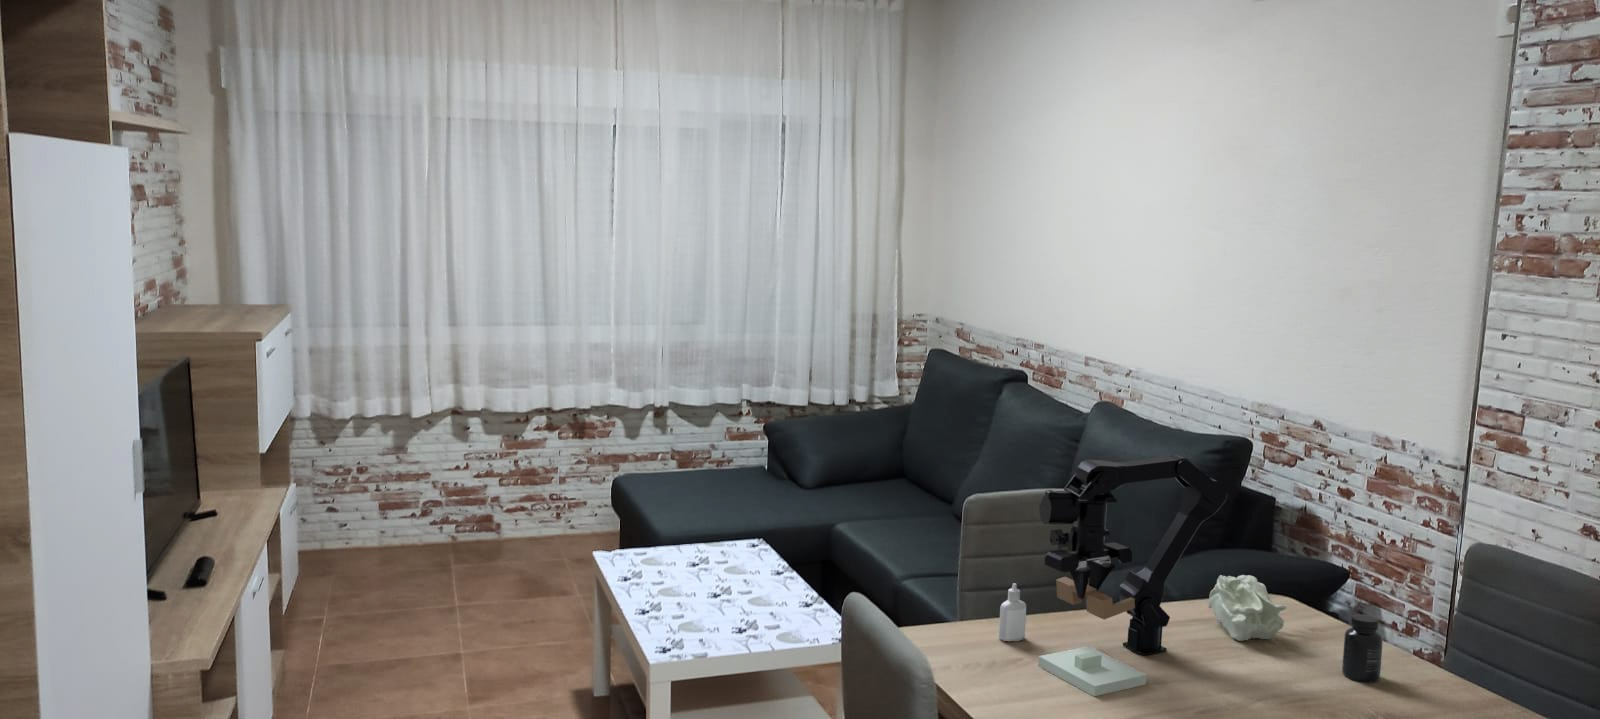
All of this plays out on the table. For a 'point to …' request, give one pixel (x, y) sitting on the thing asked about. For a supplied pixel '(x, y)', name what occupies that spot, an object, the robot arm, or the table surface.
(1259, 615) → the folded clay sculpture
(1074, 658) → the stand
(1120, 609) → the brown c-shaped bracket
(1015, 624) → the eye dropper bottle
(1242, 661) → the table surface
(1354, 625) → the supplement bottle
